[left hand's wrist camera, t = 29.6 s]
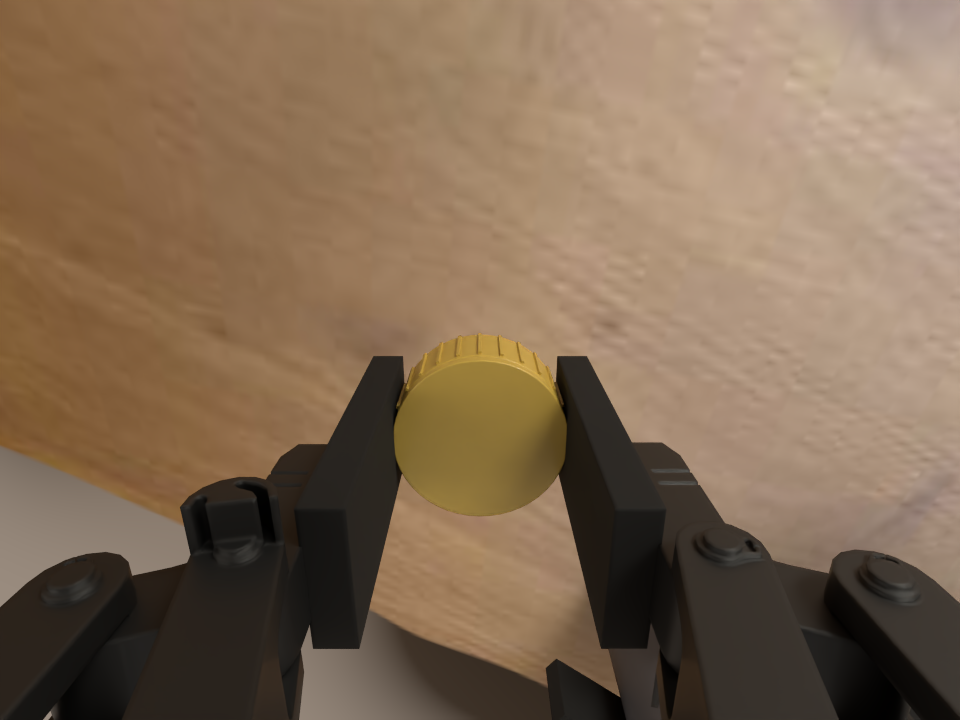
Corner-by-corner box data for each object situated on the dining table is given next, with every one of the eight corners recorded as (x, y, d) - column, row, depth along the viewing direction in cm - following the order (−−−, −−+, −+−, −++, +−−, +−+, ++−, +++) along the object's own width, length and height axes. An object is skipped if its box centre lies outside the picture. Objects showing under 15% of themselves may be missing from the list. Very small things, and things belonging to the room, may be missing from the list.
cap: (580, 447, 15) (594, 487, 13) (437, 495, 15) (432, 539, 14) (529, 308, 14) (537, 330, 12) (374, 365, 14) (359, 396, 12)
